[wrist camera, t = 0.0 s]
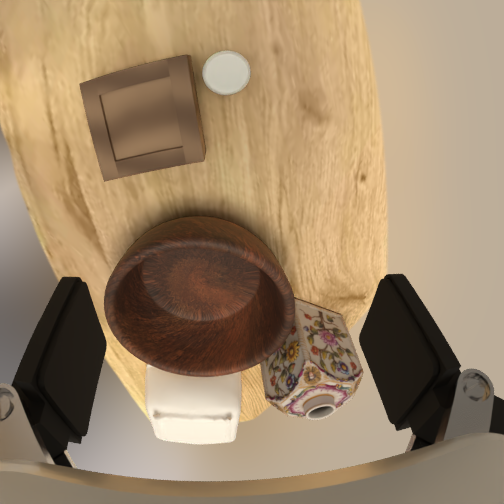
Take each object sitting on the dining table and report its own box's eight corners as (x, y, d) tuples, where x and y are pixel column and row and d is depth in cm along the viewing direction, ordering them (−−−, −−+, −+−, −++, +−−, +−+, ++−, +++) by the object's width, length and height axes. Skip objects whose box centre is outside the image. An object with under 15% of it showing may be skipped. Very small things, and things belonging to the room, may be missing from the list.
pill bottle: (254, 67, 33) (263, 69, 26) (229, 98, 35) (231, 107, 28) (222, 44, 31) (222, 39, 24) (196, 75, 33) (190, 79, 26)
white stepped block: (242, 355, 60) (248, 415, 49) (233, 422, 77) (237, 466, 66) (144, 352, 58) (135, 411, 47) (161, 420, 74) (159, 464, 63)
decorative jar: (254, 338, 58) (266, 426, 43) (289, 294, 52) (314, 387, 37) (307, 352, 62) (327, 432, 47) (343, 314, 56) (376, 396, 41)
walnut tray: (94, 80, 31) (79, 83, 27) (190, 55, 31) (186, 54, 27) (115, 168, 38) (104, 181, 34) (205, 149, 38) (204, 161, 34)
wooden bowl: (193, 160, 39) (185, 193, 30) (315, 270, 50) (333, 316, 42) (92, 276, 47) (73, 322, 38) (208, 349, 58) (208, 395, 50)
